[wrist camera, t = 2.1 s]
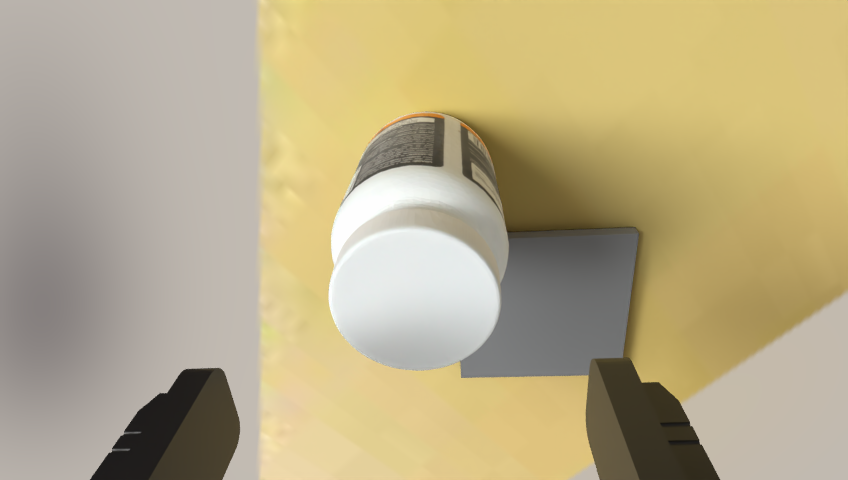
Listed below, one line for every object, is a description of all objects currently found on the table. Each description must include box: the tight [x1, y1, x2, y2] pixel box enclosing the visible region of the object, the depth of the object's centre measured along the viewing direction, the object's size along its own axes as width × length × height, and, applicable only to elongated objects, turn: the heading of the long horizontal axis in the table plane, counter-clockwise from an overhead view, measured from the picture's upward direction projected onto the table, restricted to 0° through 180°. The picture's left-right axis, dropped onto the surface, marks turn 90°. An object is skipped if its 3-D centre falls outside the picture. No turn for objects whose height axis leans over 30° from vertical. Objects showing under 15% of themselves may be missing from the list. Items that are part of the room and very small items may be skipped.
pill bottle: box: [329, 111, 509, 371], centre depth 19 cm, size 6×6×10 cm
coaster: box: [460, 227, 639, 378], centre depth 26 cm, size 8×8×1 cm
